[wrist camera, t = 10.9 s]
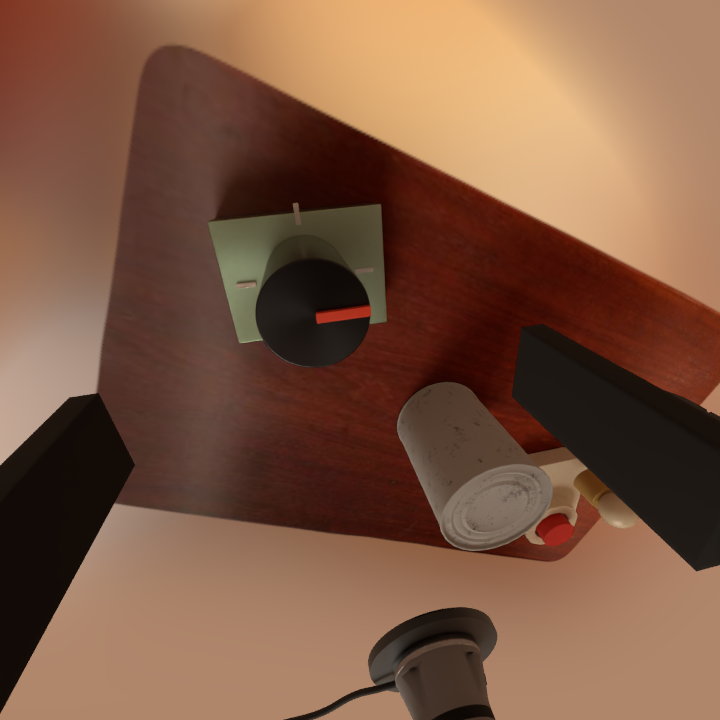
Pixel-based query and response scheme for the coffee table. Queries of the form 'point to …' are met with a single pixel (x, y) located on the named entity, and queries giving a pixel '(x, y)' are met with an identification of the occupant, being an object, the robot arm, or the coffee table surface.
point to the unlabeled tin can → (471, 468)
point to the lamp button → (555, 529)
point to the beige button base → (558, 485)
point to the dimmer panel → (267, 230)
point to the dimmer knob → (311, 304)
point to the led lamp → (605, 501)
